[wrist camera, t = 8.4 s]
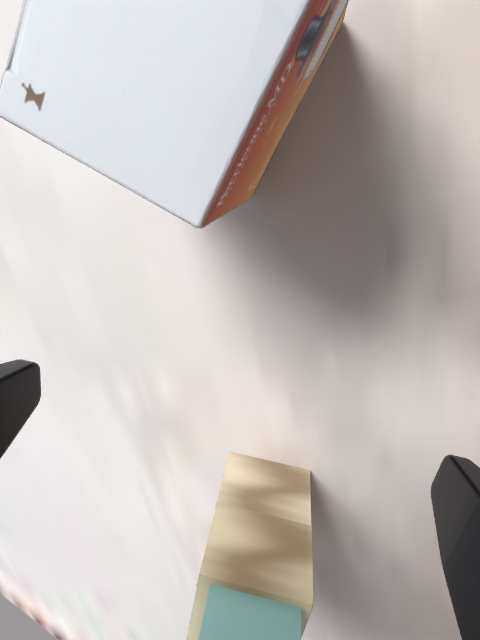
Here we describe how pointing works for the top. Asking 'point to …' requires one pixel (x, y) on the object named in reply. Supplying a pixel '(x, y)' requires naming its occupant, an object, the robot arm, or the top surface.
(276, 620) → the teal cube
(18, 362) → the robot arm
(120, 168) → the small box
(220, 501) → the birch lower block
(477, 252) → the top surface
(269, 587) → the birch upper block
